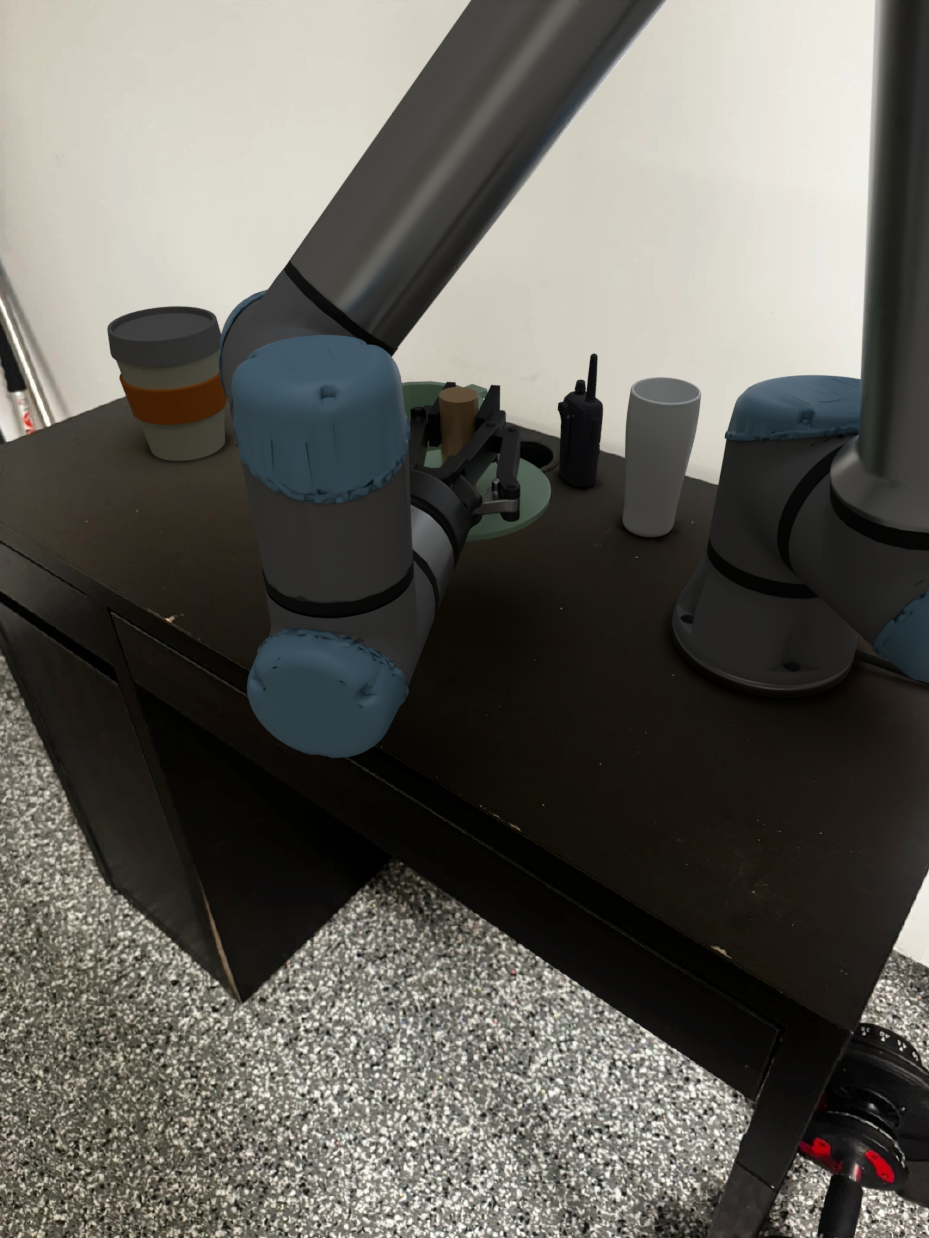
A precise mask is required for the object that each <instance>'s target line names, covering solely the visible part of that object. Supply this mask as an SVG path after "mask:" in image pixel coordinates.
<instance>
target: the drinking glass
mask: <svg viewBox="0 0 929 1238" xmlns="http://www.w3.org/2000/svg"><path fill="white" fill-rule="evenodd" d="M701 400H702V391H701V389H700V388H699V386H697V385H695V384H694V383H692V382H689V381H687V380H684V379H680V378H675V377H668V376H667V377H666V376H665V377H664V376H655V377H654V376H653V377H645V378H642V379H639V380H637V381H636V382H634V383H633V384H632V385H631V387H630V390H629V397H628V403H627V411H626V418H625V432H624V433H625V435H624V486H623V507H622V508H623V509H622V516H621V517H622V519H621V521H622V524H623V527H624V528H625V529H626V530H627V531H628V532H630V533H631V534H633V535H635V536H639V537H642V538H659V537H663V536H665V535H667V534H670V532H671V531H672V530H673V528H674V527H675V526H674V525H675V521H676V515H677V510H678V505H679V502H680V497H681V494H682V490H683V485H684V481H685V478H686V473H687V469H688V466H689V462H690V458H691V454H692V450H693V447H694V443H695V438H696V434H697V429H698V424H699V417H700V409H701Z"/></svg>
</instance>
